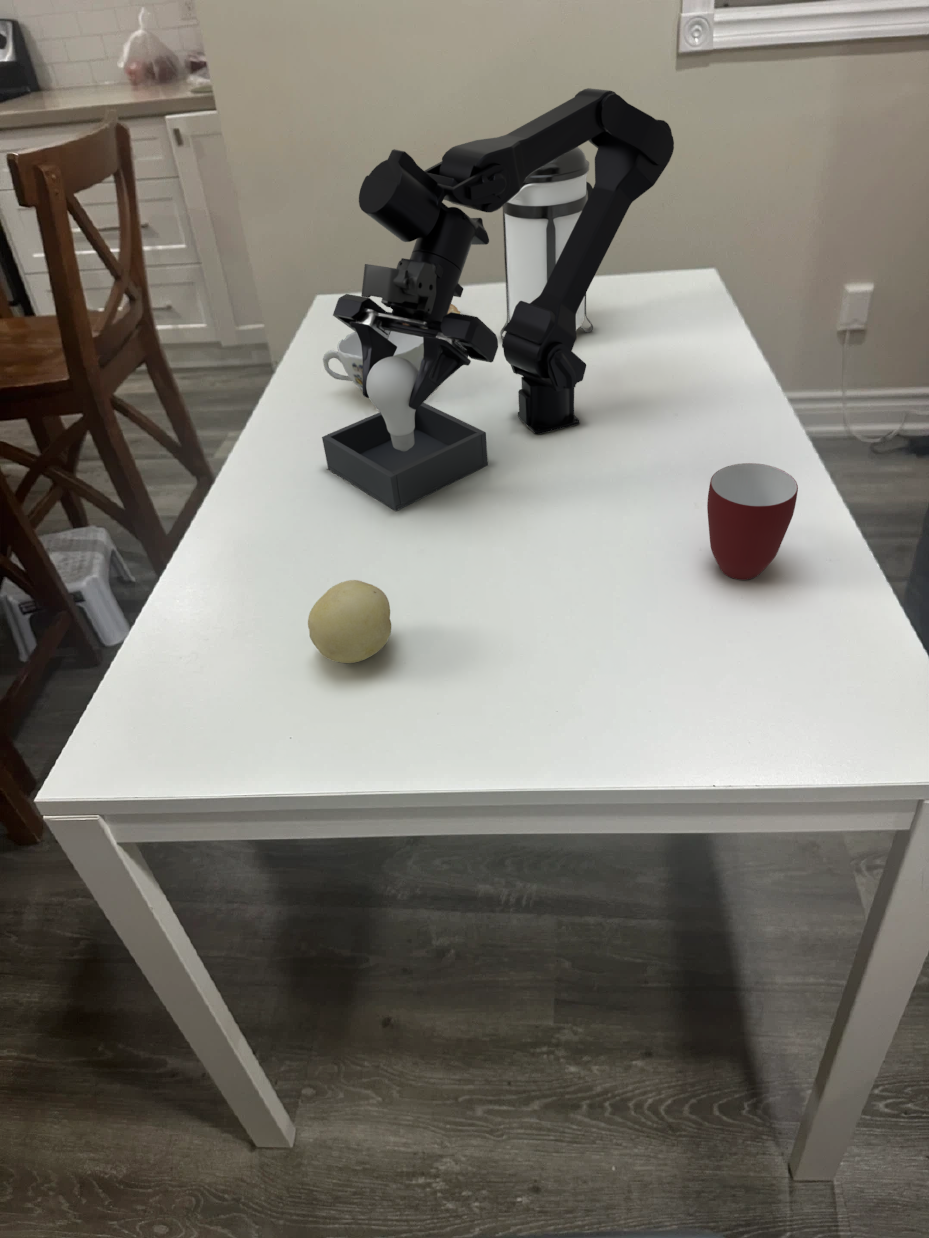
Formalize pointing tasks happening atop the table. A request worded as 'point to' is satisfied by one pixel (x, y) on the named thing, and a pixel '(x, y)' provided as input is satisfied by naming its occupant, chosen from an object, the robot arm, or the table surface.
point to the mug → (749, 516)
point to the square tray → (406, 456)
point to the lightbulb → (394, 398)
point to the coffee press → (543, 227)
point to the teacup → (353, 360)
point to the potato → (350, 622)
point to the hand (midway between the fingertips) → (388, 402)
